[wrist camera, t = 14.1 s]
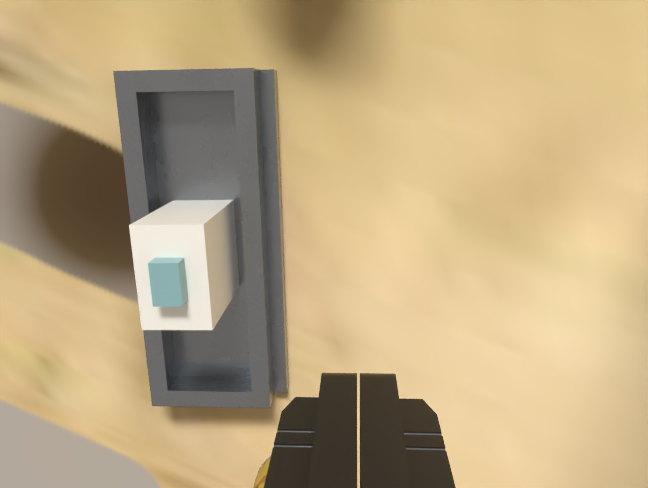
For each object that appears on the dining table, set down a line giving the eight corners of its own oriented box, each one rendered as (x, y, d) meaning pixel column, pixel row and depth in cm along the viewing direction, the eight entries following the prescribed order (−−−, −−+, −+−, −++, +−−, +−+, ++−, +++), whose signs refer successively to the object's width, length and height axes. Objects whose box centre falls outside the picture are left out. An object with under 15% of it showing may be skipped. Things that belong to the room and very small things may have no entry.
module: (173, 200, 35) (121, 229, 27) (233, 199, 34) (198, 228, 27) (181, 286, 36) (134, 337, 29) (239, 286, 36) (207, 338, 28)
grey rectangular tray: (120, 73, 34) (98, 71, 31) (276, 70, 33) (268, 67, 30) (155, 383, 40) (139, 405, 37) (288, 385, 39) (283, 408, 36)
